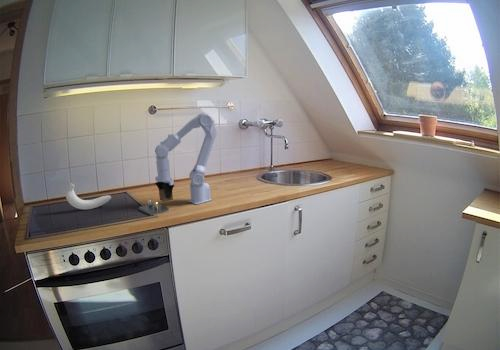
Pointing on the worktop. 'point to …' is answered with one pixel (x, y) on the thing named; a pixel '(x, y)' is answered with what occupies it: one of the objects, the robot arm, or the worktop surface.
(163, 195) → the hollow block
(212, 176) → the worktop surface
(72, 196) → the banana
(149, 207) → the pin plate
